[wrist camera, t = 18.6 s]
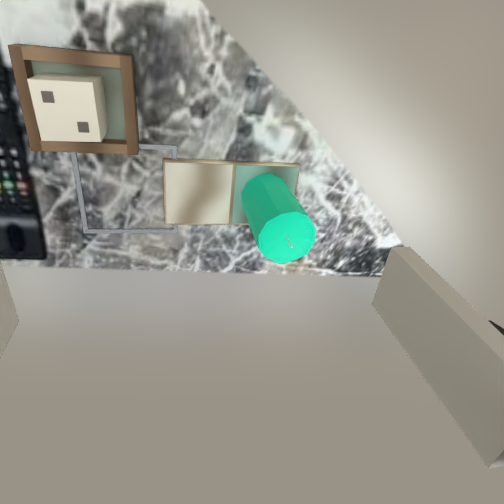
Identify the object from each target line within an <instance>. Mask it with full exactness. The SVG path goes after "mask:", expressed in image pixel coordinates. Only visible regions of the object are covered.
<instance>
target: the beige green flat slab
mask: <svg viewBox="0 0 504 504" xmlns="http://www.w3.org/2000/svg"><path fill="white" fill-rule="evenodd" d="M299 170H300V164H298V163H273V162H248V161H223V160H198V159H172V158H163V175H164V209H165V224H239V225H249V222H248V219H247V217H246V214H245V212H244V209H243V206H242V197H241V193H242V191H243V189H244V187H245V185H246V183H247V182H248V181H249V180H251V179H252V178H254V177H255V176H257V175H259V174H270V173H271V174H273V175H275V176H278V177H280V178H282V179H283V181H284V182H285V184H286V185H287V187H288V188H289V189H290V191H291V192H292V194H293V195H294V196H295V193H296V188H297V182H298V176H299Z"/></svg>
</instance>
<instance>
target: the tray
mask: <svg viewBox="0 0 504 504" xmlns="http://www.w3.org/2000/svg"><path fill="white" fill-rule="evenodd" d="M8 49H9V53H10V58H11V62H12V67H13V71H14V76H15V80H16V85H17V89H18V94H19V98H20V103H21V107H22V112H23V116H24V121H25V125H26V130H27V134H28V139H29V144H30V148H31V151H54V152H78V153H103V154H127V155H138V152H139V135H138V119H137V103H136V88H135V72H134V56H133V55H129V54H119V53H108V52H98V51H88V50H77V49H67V48H57V47H46V46H36V45H26V44H12V45H8ZM44 72H53V73H71V74H89V75H102V80H103V88H104V95H105V103H106V110H107V118H108V126H109V129H108V131H107V133H106V135H105V136H104V138H103V140H102V141H101V142H71V141H41V137H40V132H39V128H38V124H37V120H36V115H35V111H34V107H33V102H32V98H31V94H30V89H29V85H28V81H27V79H29V78H31V77H34V76H36V75H39V74H41V73H44Z"/></svg>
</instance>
